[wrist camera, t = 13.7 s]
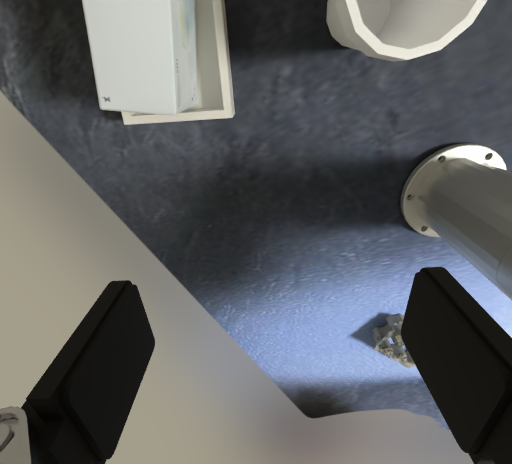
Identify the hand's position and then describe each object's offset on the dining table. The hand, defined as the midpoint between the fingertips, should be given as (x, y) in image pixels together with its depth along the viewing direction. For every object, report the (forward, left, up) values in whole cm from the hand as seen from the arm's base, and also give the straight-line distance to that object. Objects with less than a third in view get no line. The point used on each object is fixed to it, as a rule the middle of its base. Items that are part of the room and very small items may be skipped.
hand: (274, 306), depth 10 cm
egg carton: (-23, +35, -29) cm, 50 cm away
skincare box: (+9, -10, -28) cm, 31 cm away
